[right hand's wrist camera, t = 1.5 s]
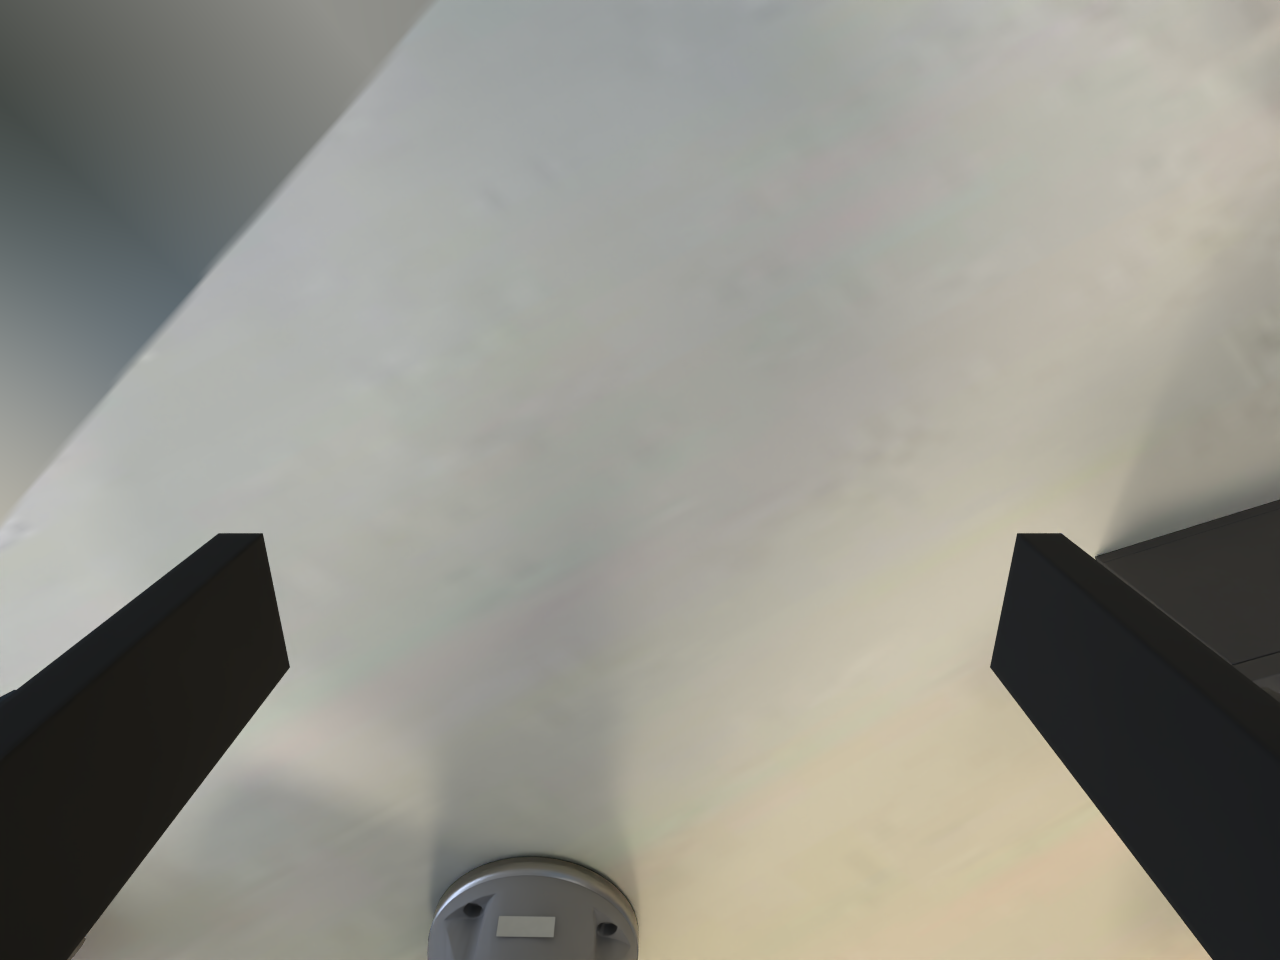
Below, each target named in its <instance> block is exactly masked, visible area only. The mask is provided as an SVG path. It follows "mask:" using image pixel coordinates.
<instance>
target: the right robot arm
mask: <svg viewBox="0 0 1280 960" xmlns="http://www.w3.org/2000/svg"><path fill="white" fill-rule="evenodd" d="M289 668H290V666H289V661H288V656H287V651H286V646H285V641H284V636H283V631H282V626H281V621H280V616H279V611H278V606H277V601H276V597H275V592H274V587H273V582H272V577H271V572H270V567H269V562H268V557H267V552H266V547H265V542H264V537H263V533H219V534H217V535H216V536H215V537H213V538H212V539H211V540H210V541H208V542H207V543H206V544H204V545H203V546H202V547H201V548H199V549H198V550H197V551H195V552H194V553H193V554H191V555H190V556H189V557H188V558H186V559H185V560H184V561H182V562H181V563H180V564H179V565H177V566H176V567H175V568H173V569H172V570H171V571H170V572H168V573H167V574H166V575H164V576H163V577H162V578H161V579H159V580H158V581H157V582H155V583H154V584H153V585H151V586H150V587H149V588H148V589H146V590H145V591H144V592H142V593H141V594H140V595H139V596H137V597H136V598H135V599H133V600H132V601H131V602H130V603H128V604H127V605H126V606H124V607H123V608H122V609H120V610H119V611H118V612H117V613H115V614H114V615H113V616H111V617H110V618H109V619H108V620H106V621H105V622H104V623H102V624H101V625H100V626H99V627H97V628H96V629H95V630H93V631H92V632H91V633H89V634H88V635H87V636H86V637H84V638H83V639H82V640H80V641H79V642H78V643H77V644H75V645H74V646H73V647H71V648H70V649H69V650H68V651H66V652H65V653H64V654H62V655H61V656H60V657H59V658H57V659H56V660H55V661H53V662H52V663H51V664H49V665H48V666H47V667H46V668H44V669H43V670H42V671H40V672H39V673H38V674H37V675H35V676H34V677H33V678H31V679H30V680H29V681H28V682H26V683H25V684H24V685H22V686H21V687H20V688H18V689H17V690H13V691H11V692H9V693H7V694H5V695H3V696H1V697H0V960H67V959H68V958H69V957H70V955H71V954H72V953H73V951H74V950H75V949H76V948H77V946H78V945H79V944H80V942H81V941H82V940H83V938H84V937H85V936H86V934H87V933H88V932H89V930H90V929H91V928H92V927H93V925H94V924H95V923H96V921H97V920H98V919H99V917H100V916H101V915H102V913H103V912H104V911H105V909H106V908H107V907H108V905H109V904H110V903H111V902H112V900H113V899H114V898H115V896H116V895H117V894H118V892H119V891H120V890H121V888H122V887H123V886H124V884H125V883H126V882H127V881H128V879H129V878H130V877H131V875H132V874H133V873H134V871H135V870H136V869H137V867H138V866H139V865H140V863H141V862H142V861H143V860H144V858H145V857H146V856H147V854H148V853H149V852H150V850H151V849H152V848H153V846H154V845H155V844H156V842H157V841H158V840H159V838H160V837H161V836H162V835H163V833H164V832H165V831H166V829H167V828H168V827H169V825H170V824H171V823H172V821H173V820H174V819H175V817H176V816H177V815H178V814H179V812H180V811H181V810H182V808H183V807H184V806H185V804H186V803H187V802H188V800H189V799H190V798H191V796H192V795H193V794H194V792H195V791H196V790H197V789H198V787H199V786H200V785H201V783H202V782H203V781H204V779H205V778H206V777H207V775H208V774H209V773H210V771H211V770H212V769H213V768H214V766H215V765H216V764H217V762H218V761H219V760H220V758H221V757H222V756H223V754H224V753H225V752H226V750H227V749H228V748H229V747H230V745H231V744H232V743H233V741H234V740H235V739H236V737H237V736H238V735H239V733H240V732H241V731H242V729H243V728H244V727H245V725H246V724H247V723H248V722H249V720H250V719H251V718H252V716H253V715H254V714H255V712H256V711H257V710H258V708H259V707H260V706H261V704H262V703H263V702H264V701H265V699H266V698H267V697H268V695H269V694H270V693H271V691H272V690H273V689H274V687H275V686H276V685H277V683H278V682H279V681H280V680H281V678H282V677H283V676H284V674H285V673H286V672H287V670H288V669H289ZM990 668H991V669H992V670H993V672H994V673H995V674H996V676H997V677H998V678H999V680H1000V681H1001V682H1002V683H1003V685H1004V686H1005V687H1006V689H1007V690H1008V691H1009V693H1010V694H1011V695H1012V697H1013V698H1014V699H1015V701H1016V702H1017V703H1018V704H1019V706H1020V707H1021V708H1022V710H1023V711H1024V712H1025V714H1026V715H1027V716H1028V718H1029V719H1030V720H1031V722H1032V723H1033V724H1034V725H1035V727H1036V728H1037V729H1038V731H1039V732H1040V733H1041V735H1042V736H1043V737H1044V739H1045V740H1046V741H1047V743H1048V744H1049V745H1050V747H1051V748H1052V749H1053V750H1054V752H1055V753H1056V754H1057V756H1058V757H1059V758H1060V760H1061V761H1062V762H1063V764H1064V765H1065V766H1066V768H1067V769H1068V770H1069V771H1070V773H1071V774H1072V775H1073V777H1074V778H1075V779H1076V781H1077V782H1078V783H1079V785H1080V786H1081V787H1082V789H1083V790H1084V791H1085V792H1086V794H1087V795H1088V796H1089V798H1090V799H1091V800H1092V802H1093V803H1094V804H1095V806H1096V807H1097V808H1098V810H1099V811H1100V812H1101V814H1102V815H1103V816H1104V817H1105V819H1106V820H1107V821H1108V823H1109V824H1110V825H1111V827H1112V828H1113V829H1114V831H1115V832H1116V833H1117V835H1118V836H1119V837H1120V838H1121V840H1122V841H1123V842H1124V844H1125V845H1126V846H1127V848H1128V849H1129V850H1130V852H1131V853H1132V854H1133V856H1134V857H1135V858H1136V860H1137V861H1138V862H1139V863H1140V865H1141V866H1142V867H1143V869H1144V870H1145V871H1146V873H1147V874H1148V875H1149V877H1150V878H1151V879H1152V881H1153V882H1154V883H1155V884H1156V886H1157V887H1158V888H1159V890H1160V891H1161V892H1162V894H1163V895H1164V896H1165V898H1166V899H1167V900H1168V902H1169V903H1170V904H1171V905H1172V907H1173V908H1174V909H1175V911H1176V912H1177V913H1178V915H1179V916H1180V917H1181V919H1182V920H1183V921H1184V923H1185V924H1186V925H1187V927H1188V928H1189V929H1190V930H1191V932H1192V933H1193V934H1194V936H1195V937H1196V938H1197V940H1198V941H1199V942H1200V944H1201V945H1202V946H1203V948H1204V949H1205V950H1206V951H1207V953H1208V954H1209V955H1210V957H1211V958H1212V959H1213V960H1280V694H1279V693H1277V692H1275V691H1273V690H1271V689H1269V688H1267V687H1259V686H1258V685H1256V684H1255V683H1254V682H1252V681H1251V680H1250V679H1249V678H1247V677H1246V676H1245V675H1243V674H1242V673H1241V672H1240V671H1238V670H1237V669H1236V668H1234V667H1233V666H1232V665H1231V664H1229V663H1228V662H1227V661H1225V660H1224V659H1223V658H1221V657H1220V656H1219V655H1218V654H1216V653H1215V652H1214V651H1212V650H1211V649H1210V648H1209V647H1207V646H1206V645H1205V644H1203V643H1202V642H1201V641H1200V640H1198V639H1197V638H1196V637H1194V636H1193V635H1192V634H1191V633H1189V632H1188V631H1187V630H1185V629H1184V628H1183V627H1181V626H1180V625H1179V624H1178V623H1176V622H1175V621H1174V620H1172V619H1171V618H1170V617H1169V616H1167V615H1166V614H1165V613H1163V612H1162V611H1161V610H1160V609H1158V608H1157V607H1156V606H1154V605H1153V604H1152V603H1150V602H1149V601H1148V600H1147V599H1145V598H1144V597H1143V596H1141V595H1140V594H1139V593H1138V592H1136V591H1135V590H1134V589H1132V588H1131V587H1130V586H1129V585H1127V584H1126V583H1125V582H1123V581H1122V580H1121V579H1119V578H1118V577H1117V576H1116V575H1114V574H1113V573H1112V572H1110V571H1109V570H1108V569H1107V568H1105V567H1104V566H1103V565H1101V564H1100V563H1099V562H1098V561H1096V560H1095V559H1094V558H1092V557H1091V556H1090V555H1088V554H1087V553H1086V552H1085V551H1083V550H1082V549H1081V548H1079V547H1078V546H1077V545H1076V544H1074V543H1073V542H1072V541H1070V540H1069V539H1068V538H1067V537H1065V536H1064V535H1063V534H1061V533H1017V537H1016V542H1015V547H1014V552H1013V557H1012V562H1011V567H1010V572H1009V577H1008V582H1007V587H1006V592H1005V597H1004V601H1003V606H1002V611H1001V616H1000V621H999V626H998V631H997V636H996V641H995V646H994V651H993V656H992V661H991V666H990ZM427 954H428V960H638V925H637V920H636V917H635V914H634V911H633V909H632V907H631V905H630V904H629V902H628V901H627V899H626V898H625V897H624V895H623V894H622V893H621V892H620V891H619V890H618V889H617V888H616V887H615V886H614V885H613V884H611V883H610V882H609V881H608V880H606V879H605V878H603V877H602V876H600V875H599V874H597V873H595V872H593V871H591V870H589V869H587V868H584V867H582V866H579V865H576V864H574V863H570V862H567V861H563V860H558V859H552V858H544V857H517V858H509V859H503V860H498V861H495V862H491V863H488V864H485V865H483V866H480V867H478V868H476V869H474V870H472V871H470V872H468V873H467V874H465V875H463V876H462V877H461V878H459V879H458V880H457V881H456V882H454V883H453V884H452V885H451V886H450V887H449V889H448V890H447V891H446V892H445V893H444V895H443V896H442V898H441V900H440V902H439V904H438V906H437V909H436V912H435V915H434V918H433V922H432V925H431V929H430V933H429V939H428V952H427Z"/></svg>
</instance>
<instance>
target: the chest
mask: <svg viewBox="0 0 1280 960" xmlns="http://www.w3.org/2000/svg"><path fill="white" fill-rule="evenodd" d="M1096 561H1098V562H1099V563H1100V564H1101V565H1103V566H1104V567H1105V568H1107V569H1108V570H1109V571H1110V572H1112V573H1113V574H1114V575H1116V576H1117V577H1118V578H1119V579H1121V580H1122V581H1123V582H1125V583H1126V584H1127V585H1129V586H1130V587H1131V588H1132V589H1134V590H1135V591H1136V592H1138V593H1139V594H1140V595H1141V596H1143V597H1144V598H1145V599H1147V600H1148V601H1149V602H1150V603H1152V604H1153V605H1154V606H1156V607H1157V608H1158V609H1160V610H1161V611H1162V612H1163V613H1165V614H1166V615H1167V616H1169V617H1170V618H1171V619H1172V620H1174V621H1175V622H1176V623H1178V624H1179V625H1180V626H1181V627H1183V628H1184V629H1185V630H1187V631H1188V632H1189V633H1191V634H1192V635H1193V636H1194V637H1196V638H1197V639H1198V640H1200V641H1201V642H1202V643H1203V644H1205V645H1206V646H1207V647H1209V648H1210V649H1211V650H1212V651H1214V652H1215V653H1216V654H1218V655H1219V656H1220V657H1221V658H1223V659H1224V660H1225V661H1227V662H1228V663H1229V664H1231V665H1232V666H1233V665H1236V664H1240V663H1243V662H1247V661H1250V660H1254V659H1257V658H1261V657H1265V656H1268V655H1272V654H1275V653H1279V652H1280V500H1278V501H1275V502H1272V503H1268V504H1265V505H1262V506H1259V507H1255V508H1252V509H1249V510H1246V511H1242V512H1239V513H1236V514H1233V515H1229V516H1226V517H1223V518H1220V519H1217V520H1213V521H1210V522H1207V523H1204V524H1200V525H1197V526H1194V527H1191V528H1187V529H1184V530H1181V531H1178V532H1174V533H1171V534H1168V535H1165V536H1161V537H1158V538H1155V539H1152V540H1148V541H1145V542H1142V543H1139V544H1135V545H1132V546H1129V547H1126V548H1122V549H1119V550H1116V551H1113V552H1110V553H1106V554H1103V555H1100V556H1097V557H1096Z"/></svg>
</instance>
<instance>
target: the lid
mask: <svg viewBox="0 0 1280 960" xmlns="http://www.w3.org/2000/svg"><path fill="white" fill-rule="evenodd" d="M1233 667H1234V668H1236V669H1237V670H1238V671H1240V672H1241V673H1242V674H1243V675H1245V676H1246V677H1247V678H1249V679H1250V680H1251V681H1252V682H1254V683H1255V684H1256V685H1258V686H1259V687H1267V688H1269V689H1271V690H1273V691H1275V692H1277V693H1279V694H1280V652H1279V653H1275V654H1272V655H1268V656H1265V657H1261V658H1257V659H1254V660H1250V661H1247V662H1243V663H1240V664H1236V665H1233Z"/></svg>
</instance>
